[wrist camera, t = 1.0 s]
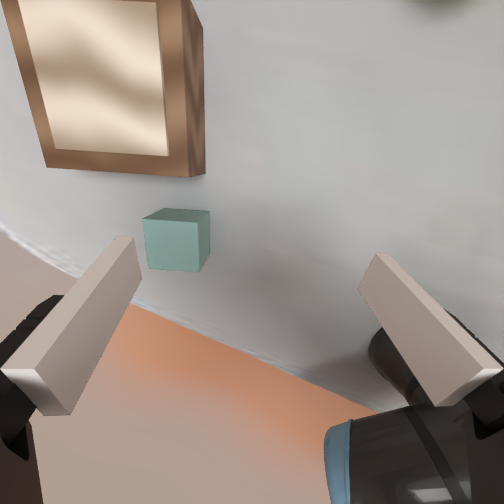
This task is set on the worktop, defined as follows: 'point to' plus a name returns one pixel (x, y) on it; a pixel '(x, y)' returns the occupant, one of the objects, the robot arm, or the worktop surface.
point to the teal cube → (177, 239)
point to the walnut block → (113, 83)
